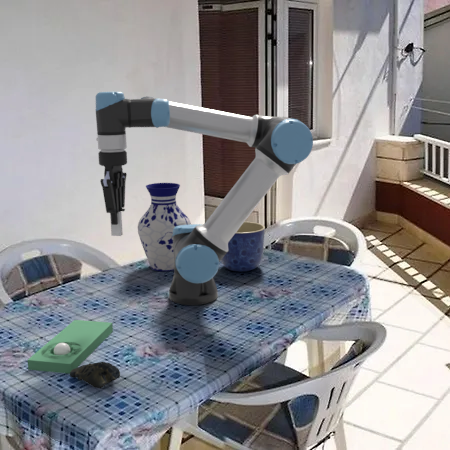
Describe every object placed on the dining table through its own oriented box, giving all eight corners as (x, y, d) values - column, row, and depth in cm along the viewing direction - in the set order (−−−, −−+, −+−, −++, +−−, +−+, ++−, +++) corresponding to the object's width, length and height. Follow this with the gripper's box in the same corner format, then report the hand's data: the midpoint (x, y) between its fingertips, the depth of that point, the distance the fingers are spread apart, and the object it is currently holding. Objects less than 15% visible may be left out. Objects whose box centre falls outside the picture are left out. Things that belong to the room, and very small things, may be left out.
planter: (266, 275, 212) (266, 232, 209) (216, 275, 213) (216, 233, 209) (263, 261, 229) (263, 221, 225) (218, 261, 229) (217, 221, 225)
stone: (81, 370, 146) (79, 349, 144) (128, 380, 140) (126, 359, 139) (62, 382, 140) (60, 361, 138) (110, 394, 134) (108, 371, 133)
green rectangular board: (75, 328, 169) (74, 319, 169) (112, 331, 167) (112, 322, 166) (28, 369, 145) (27, 359, 145) (71, 373, 143) (70, 364, 142)
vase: (198, 261, 229) (196, 181, 222) (183, 277, 211) (180, 191, 204) (150, 258, 234) (146, 180, 227) (131, 273, 216) (127, 189, 209)
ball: (75, 349, 152) (72, 346, 148) (65, 363, 151) (62, 361, 147) (61, 341, 153) (58, 338, 149) (52, 355, 151) (48, 352, 148)
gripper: (108, 147, 172) (113, 229, 178) (89, 153, 160) (94, 240, 165) (134, 147, 171) (137, 230, 176) (116, 153, 158) (120, 241, 164)
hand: (117, 235), depth 171 cm, fingers closed
